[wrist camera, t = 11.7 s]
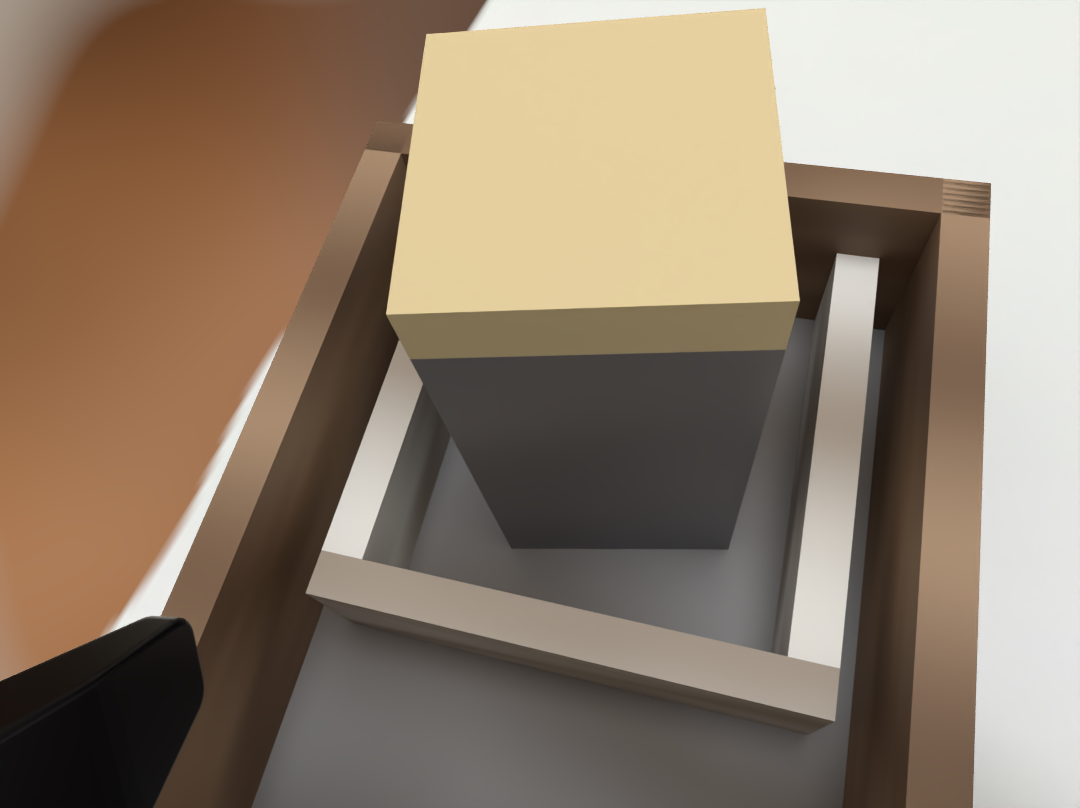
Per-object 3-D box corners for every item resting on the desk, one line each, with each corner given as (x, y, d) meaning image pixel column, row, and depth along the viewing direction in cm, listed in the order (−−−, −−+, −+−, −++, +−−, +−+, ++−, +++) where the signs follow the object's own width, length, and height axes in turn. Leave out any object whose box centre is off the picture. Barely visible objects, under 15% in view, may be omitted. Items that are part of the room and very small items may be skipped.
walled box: (828, 1606, 11) (934, 2080, 7) (58, 1246, 13) (-198, 1434, 9) (918, 317, 19) (990, 183, 15) (429, 250, 21) (377, 120, 17)
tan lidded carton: (728, 549, 16) (800, 300, 8) (511, 548, 17) (386, 315, 9) (716, 358, 18) (765, 7, 10) (522, 362, 19) (425, 34, 11)
